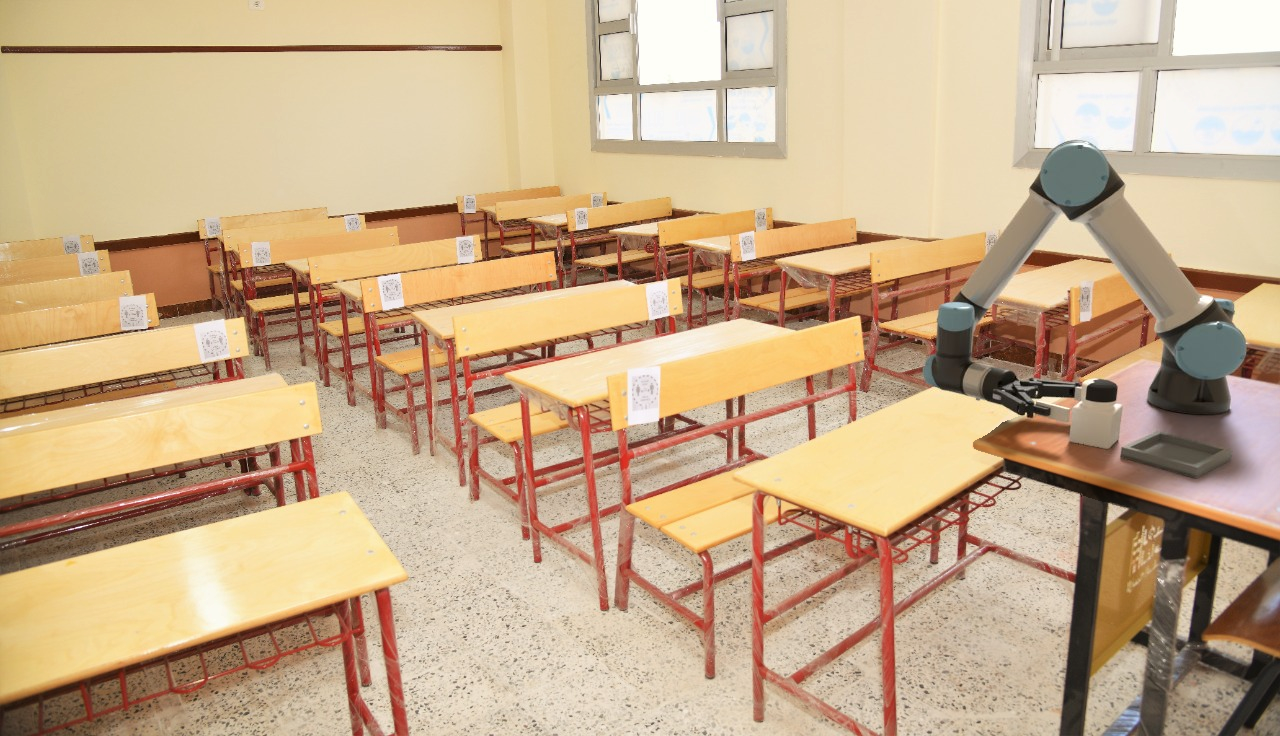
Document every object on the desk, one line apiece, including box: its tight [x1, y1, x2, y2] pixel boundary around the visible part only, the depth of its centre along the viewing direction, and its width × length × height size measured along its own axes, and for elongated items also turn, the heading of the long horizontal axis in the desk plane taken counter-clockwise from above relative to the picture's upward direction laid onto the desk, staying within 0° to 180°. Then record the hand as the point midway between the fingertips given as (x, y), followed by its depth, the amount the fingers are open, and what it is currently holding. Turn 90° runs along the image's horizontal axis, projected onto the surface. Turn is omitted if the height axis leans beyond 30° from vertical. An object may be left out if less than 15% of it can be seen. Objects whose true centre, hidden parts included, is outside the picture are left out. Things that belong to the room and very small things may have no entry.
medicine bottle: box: [1068, 378, 1124, 450], centre depth 170 cm, size 7×7×12 cm
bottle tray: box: [1119, 430, 1233, 479], centre depth 161 cm, size 13×13×2 cm
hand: (1088, 408), depth 171 cm, fingers open, 13 cm apart
